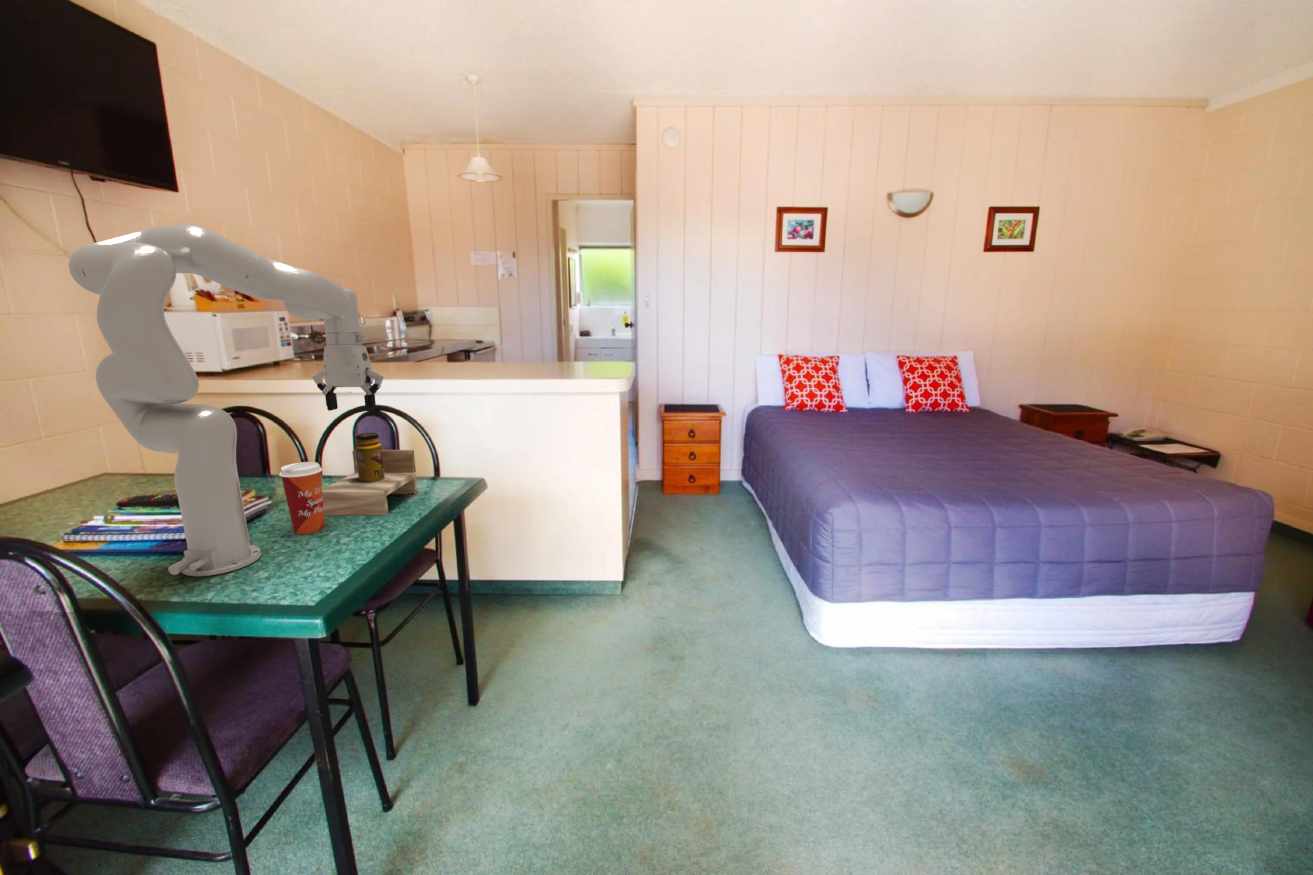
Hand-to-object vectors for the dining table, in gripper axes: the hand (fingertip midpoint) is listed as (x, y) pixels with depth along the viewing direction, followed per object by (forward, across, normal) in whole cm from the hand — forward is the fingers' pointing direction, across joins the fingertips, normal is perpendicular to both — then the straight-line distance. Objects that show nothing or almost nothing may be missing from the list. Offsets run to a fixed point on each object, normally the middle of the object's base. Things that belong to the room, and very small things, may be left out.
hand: (351, 409), depth 141 cm
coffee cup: (+25, +2, +17) cm, 31 cm away
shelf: (+24, -2, -1) cm, 25 cm away
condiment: (+19, -2, -1) cm, 19 cm away
